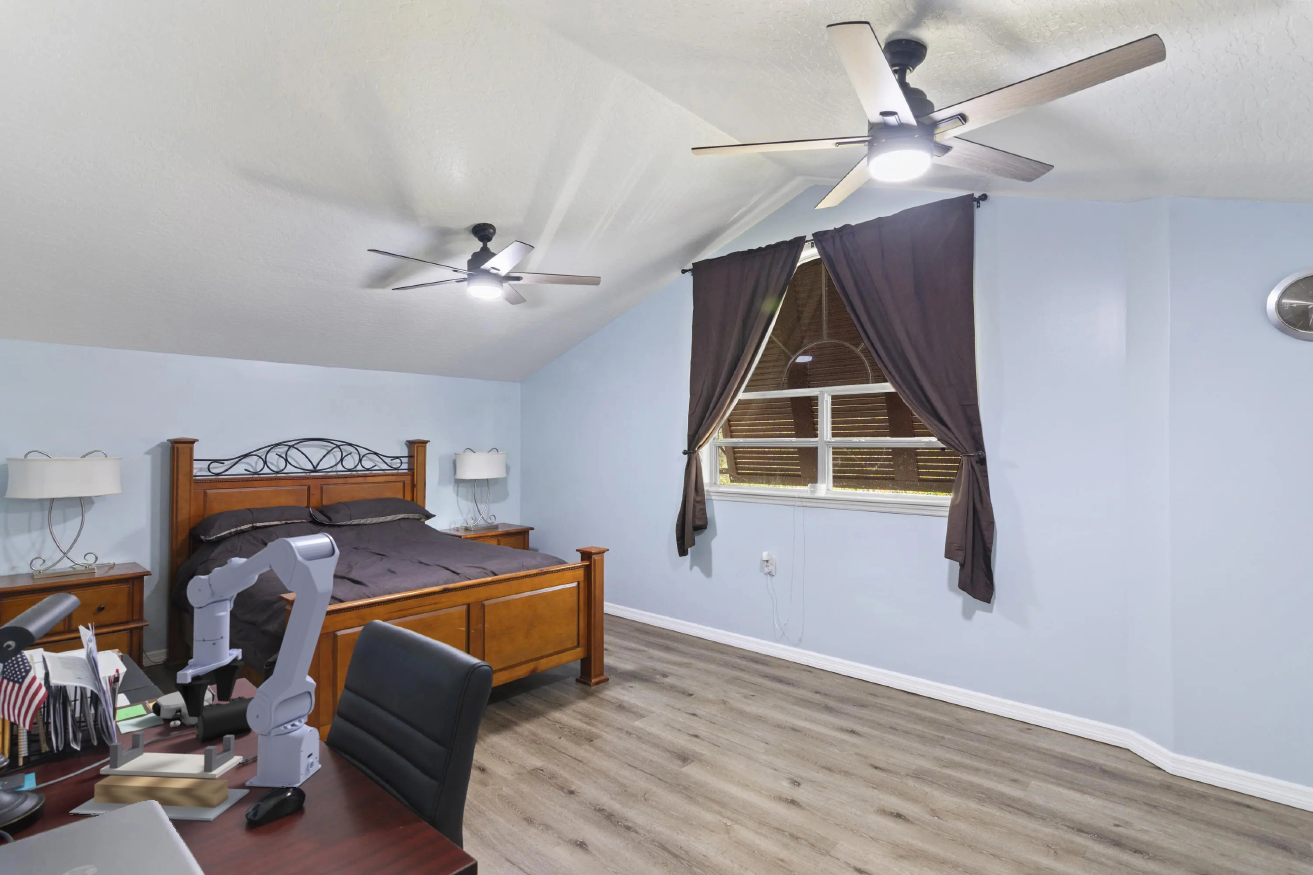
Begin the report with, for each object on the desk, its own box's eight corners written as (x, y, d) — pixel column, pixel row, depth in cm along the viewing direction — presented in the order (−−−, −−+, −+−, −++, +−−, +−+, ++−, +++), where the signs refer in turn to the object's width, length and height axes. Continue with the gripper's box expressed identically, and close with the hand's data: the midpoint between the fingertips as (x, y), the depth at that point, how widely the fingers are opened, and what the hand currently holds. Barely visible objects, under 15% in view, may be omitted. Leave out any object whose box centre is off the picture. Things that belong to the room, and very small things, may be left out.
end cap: (202, 748, 132) (203, 714, 132) (192, 738, 137) (192, 704, 137) (258, 732, 140) (259, 700, 140) (246, 723, 144) (247, 691, 144)
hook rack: (242, 760, 127) (243, 733, 127) (216, 778, 120) (216, 750, 120) (132, 756, 128) (133, 729, 129) (99, 773, 121) (100, 745, 122)
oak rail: (228, 798, 113) (228, 780, 113) (215, 807, 110) (215, 789, 110) (110, 792, 114) (110, 775, 114) (94, 802, 111) (94, 783, 111)
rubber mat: (249, 791, 116) (249, 789, 116) (211, 820, 107) (211, 817, 107) (117, 786, 117) (117, 783, 117) (69, 814, 108) (69, 811, 108)
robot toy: (234, 721, 147) (207, 700, 156) (235, 701, 147) (208, 681, 156) (168, 740, 138) (143, 717, 147) (169, 719, 138) (144, 697, 146)
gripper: (218, 626, 136) (217, 693, 136) (161, 647, 121) (159, 722, 121) (252, 627, 136) (250, 694, 135) (198, 648, 121) (197, 724, 121)
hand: (210, 708), depth 128 cm, fingers open, 7 cm apart
